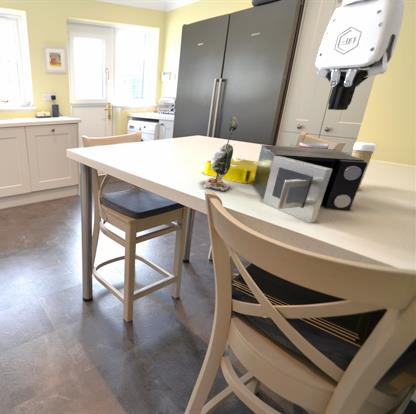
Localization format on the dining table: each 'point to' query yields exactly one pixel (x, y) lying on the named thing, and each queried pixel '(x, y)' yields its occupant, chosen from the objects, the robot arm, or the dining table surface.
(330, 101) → the robot arm
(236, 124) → the plant with pod
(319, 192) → the microwave door
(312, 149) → the microwave
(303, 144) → the canned food
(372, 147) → the sprinkles bottle
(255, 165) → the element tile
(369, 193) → the dining table surface
